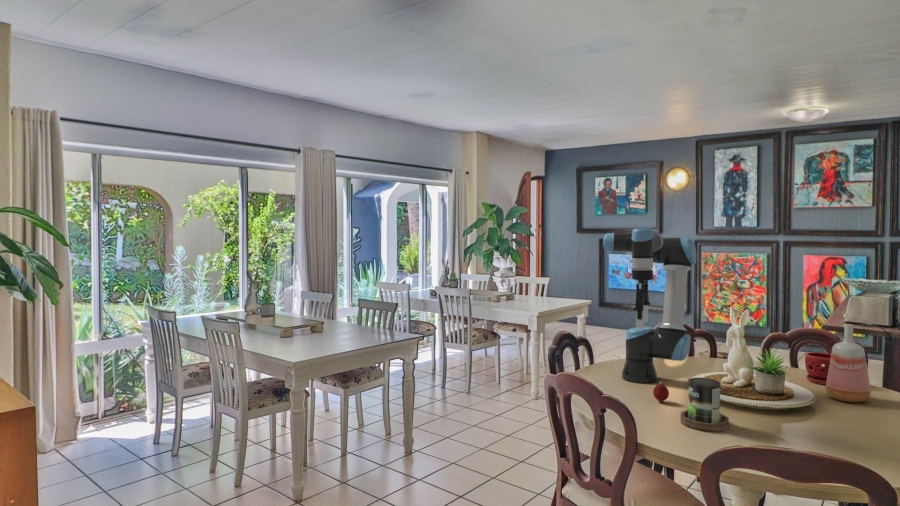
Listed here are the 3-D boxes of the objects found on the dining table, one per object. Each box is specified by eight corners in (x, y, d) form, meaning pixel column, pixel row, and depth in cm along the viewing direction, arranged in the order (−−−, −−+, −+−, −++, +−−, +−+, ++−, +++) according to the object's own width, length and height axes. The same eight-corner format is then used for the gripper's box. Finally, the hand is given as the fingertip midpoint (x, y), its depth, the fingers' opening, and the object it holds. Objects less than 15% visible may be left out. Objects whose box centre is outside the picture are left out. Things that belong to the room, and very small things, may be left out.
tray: (682, 414, 206) (682, 407, 206) (728, 419, 199) (728, 412, 199) (679, 427, 192) (679, 420, 192) (728, 434, 186) (728, 426, 185)
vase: (829, 402, 216) (830, 326, 215) (822, 392, 229) (824, 320, 228) (874, 407, 210) (876, 329, 208) (865, 396, 223) (867, 322, 222)
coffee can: (697, 427, 190) (697, 386, 190) (682, 416, 201) (682, 378, 200) (726, 425, 191) (726, 385, 190) (710, 415, 201) (710, 376, 201)
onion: (670, 404, 216) (670, 384, 216) (654, 404, 217) (654, 383, 217) (667, 400, 222) (667, 380, 222) (652, 399, 223) (652, 379, 223)
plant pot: (842, 388, 234) (843, 359, 234) (805, 383, 241) (806, 356, 240) (839, 380, 246) (839, 353, 245) (803, 376, 252) (804, 350, 252)
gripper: (636, 266, 224) (636, 318, 225) (627, 271, 202) (627, 329, 203) (656, 266, 221) (656, 320, 222) (649, 272, 199) (648, 331, 200)
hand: (642, 324), depth 213 cm, fingers open, 13 cm apart
